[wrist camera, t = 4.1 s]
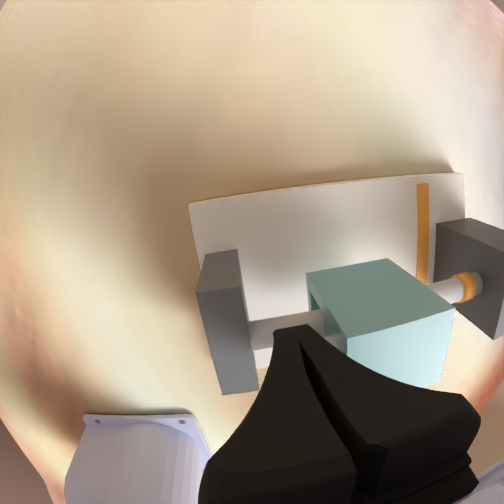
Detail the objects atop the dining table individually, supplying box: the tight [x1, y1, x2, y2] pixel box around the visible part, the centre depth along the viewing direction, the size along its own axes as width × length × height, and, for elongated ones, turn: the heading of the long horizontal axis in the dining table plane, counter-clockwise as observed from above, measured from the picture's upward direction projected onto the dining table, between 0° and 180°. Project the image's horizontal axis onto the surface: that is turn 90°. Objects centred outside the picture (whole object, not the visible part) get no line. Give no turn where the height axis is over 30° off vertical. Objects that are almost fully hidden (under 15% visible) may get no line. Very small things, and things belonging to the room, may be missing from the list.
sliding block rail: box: [188, 172, 504, 395], centre depth 14 cm, size 16×10×7 cm, turn 98°
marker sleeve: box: [306, 258, 455, 388], centre depth 11 cm, size 4×3×5 cm
